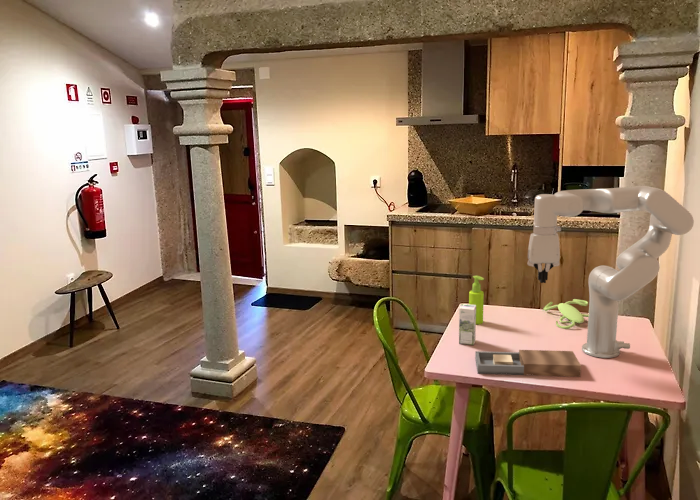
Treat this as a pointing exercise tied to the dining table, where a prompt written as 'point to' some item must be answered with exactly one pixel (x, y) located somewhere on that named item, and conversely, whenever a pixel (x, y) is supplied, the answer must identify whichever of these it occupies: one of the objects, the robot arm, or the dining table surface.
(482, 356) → the box
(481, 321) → the soap dispenser
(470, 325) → the syrup box
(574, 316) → the figurine
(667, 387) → the dining table surface
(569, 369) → the board
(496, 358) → the tile
